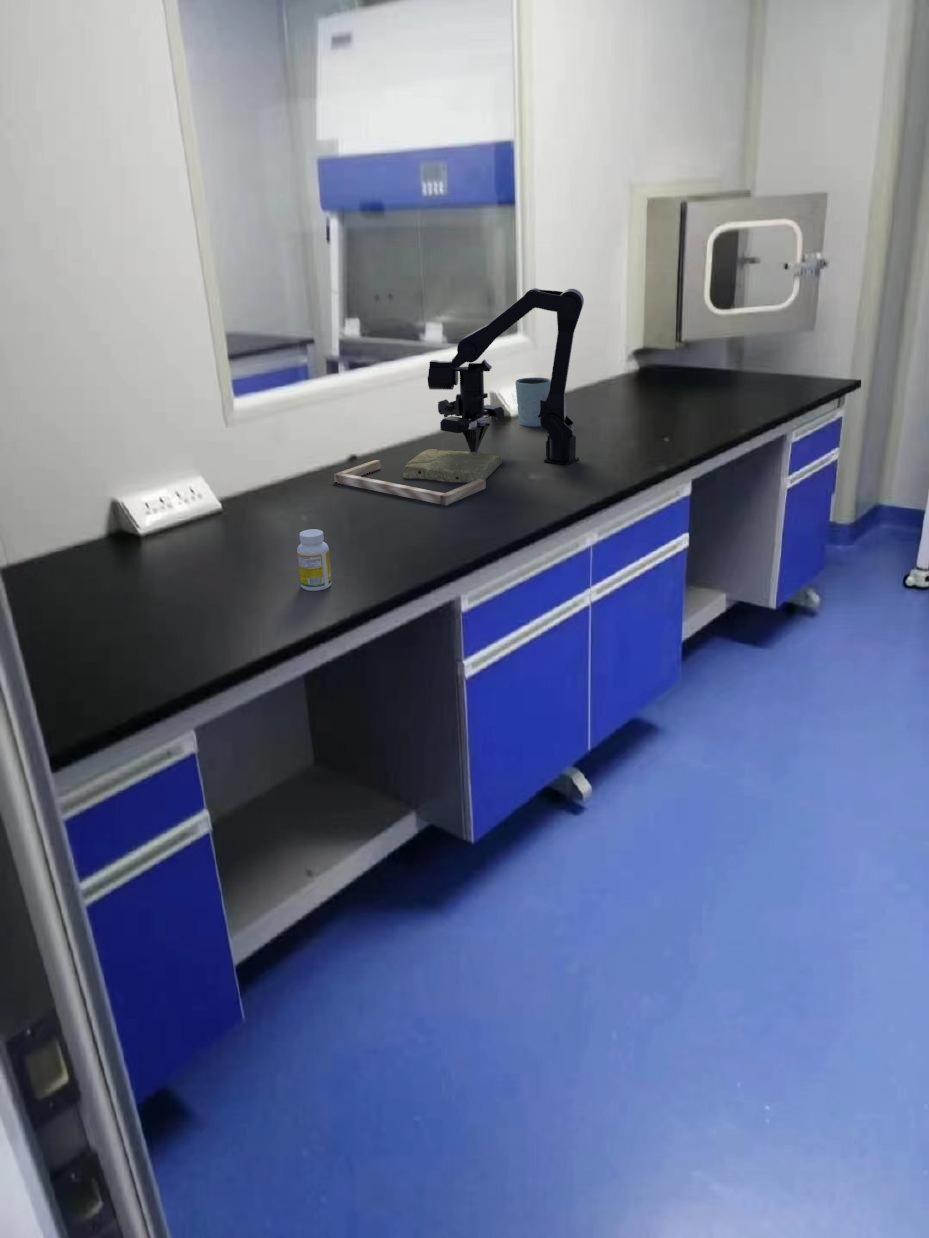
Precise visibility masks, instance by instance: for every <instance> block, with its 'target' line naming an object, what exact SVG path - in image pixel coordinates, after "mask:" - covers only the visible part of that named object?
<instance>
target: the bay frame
mask: <svg viewBox="0 0 929 1238" xmlns="http://www.w3.org/2000/svg"><path fill="white" fill-rule="evenodd" d="M381 464H382V463H381V460H378V459H375V460H371V461H368V462H366V463H362V464H359V465H356V466H354V467H351V468H348V469H344V470H342V471H339V472H336V473H334V474H333V477H334V478H333V479H334V483H335V482H337V483H336V484H340V485H345V486H351V487H355V488H360V489H364V490H365V489H366V490H370V491H374V492H379V493H384V494H389V495H394V496H399V497H404V498H409V499H412V500H413V499H414V500H418V501H424V502H427V503H433V504H438V505H442V506H448V505H450V504H454V503H455V502H458V501H460V500H462V499H464V498H467V497H470V496H472V495H475V494H476V493H478V492H481V491H483V490H485V489H487V488H486V485H487V484H486V483H487V482H486V479H485V480H484V479H478V480H476V481H473V482H471V483H466V484H464V485H461V486H459V487H456V488H455V489H452V490H449V491H446V492H439V491H434V490H429V489H425V488H419V487H414V486H411V485H410V486H409V485H405V484H399V483H395V482H390V481H385V480H384V481H383V480H380V479H373V478H368V477H365V476H364V475H367V473H368V474H370V473H373V472H376V471H379V470H381V469H382V466H381ZM369 472H370V473H369Z"/></svg>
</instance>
